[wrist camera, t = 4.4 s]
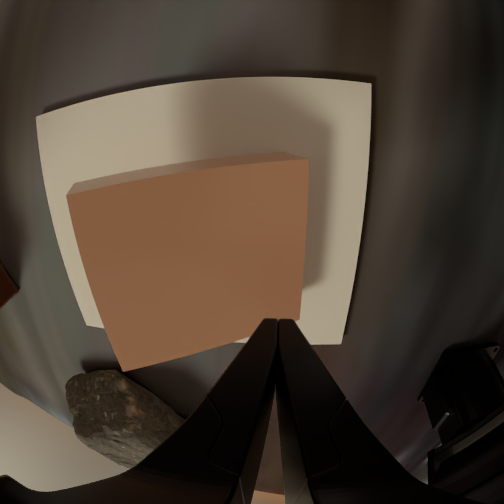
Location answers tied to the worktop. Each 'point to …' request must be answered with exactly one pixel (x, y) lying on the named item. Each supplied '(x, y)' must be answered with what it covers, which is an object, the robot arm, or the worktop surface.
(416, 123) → the worktop surface
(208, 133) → the beige mat
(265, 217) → the terracotta tile
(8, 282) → the heart arrow ornament
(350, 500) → the robot arm
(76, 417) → the rock
